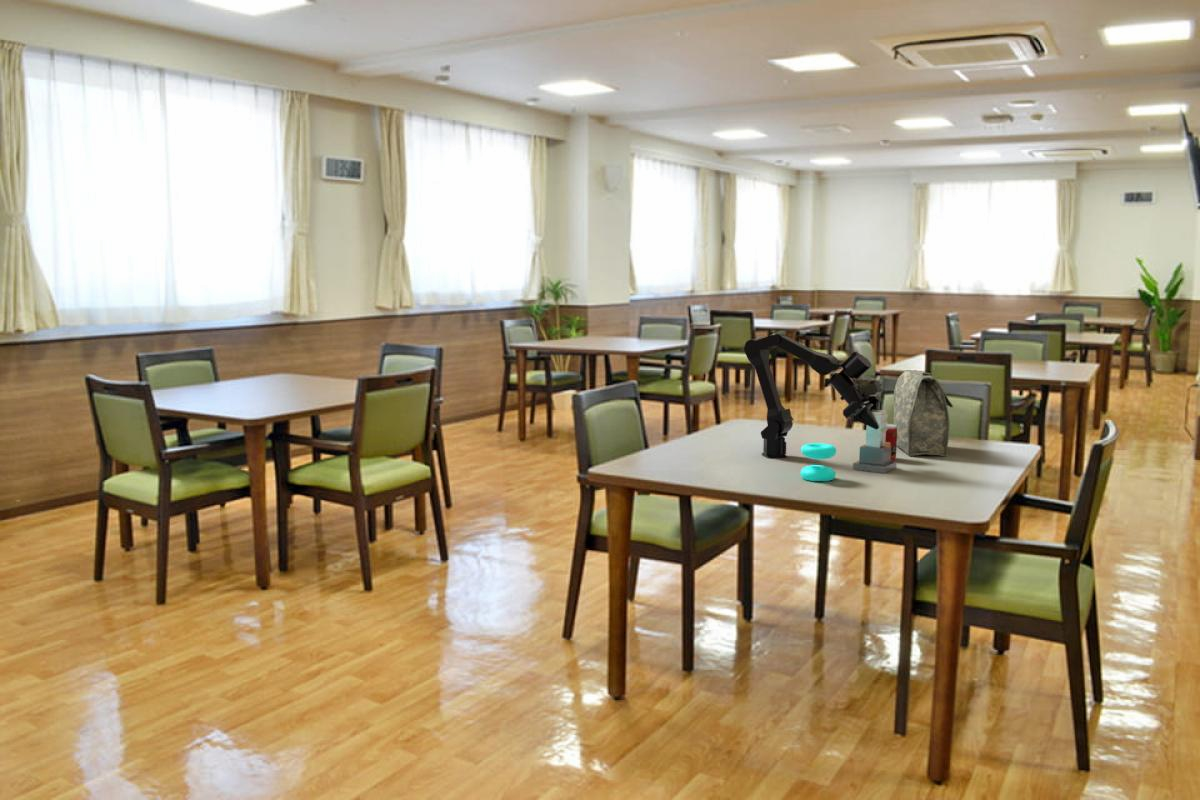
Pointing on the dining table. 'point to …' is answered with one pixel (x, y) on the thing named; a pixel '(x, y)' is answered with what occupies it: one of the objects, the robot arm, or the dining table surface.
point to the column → (877, 430)
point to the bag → (921, 414)
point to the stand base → (875, 459)
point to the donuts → (818, 470)
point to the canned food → (892, 438)
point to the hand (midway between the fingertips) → (880, 427)
